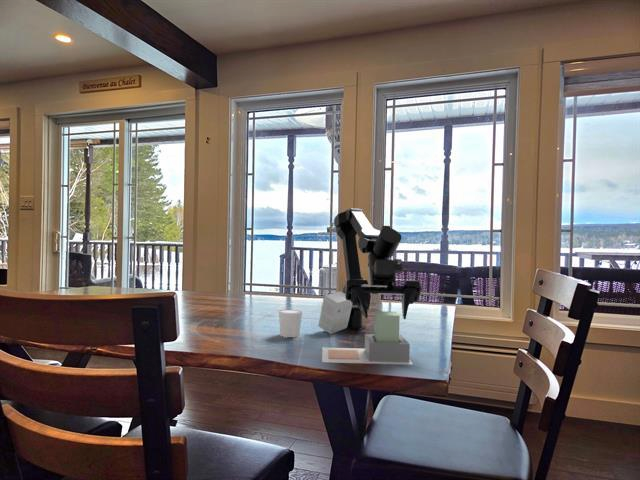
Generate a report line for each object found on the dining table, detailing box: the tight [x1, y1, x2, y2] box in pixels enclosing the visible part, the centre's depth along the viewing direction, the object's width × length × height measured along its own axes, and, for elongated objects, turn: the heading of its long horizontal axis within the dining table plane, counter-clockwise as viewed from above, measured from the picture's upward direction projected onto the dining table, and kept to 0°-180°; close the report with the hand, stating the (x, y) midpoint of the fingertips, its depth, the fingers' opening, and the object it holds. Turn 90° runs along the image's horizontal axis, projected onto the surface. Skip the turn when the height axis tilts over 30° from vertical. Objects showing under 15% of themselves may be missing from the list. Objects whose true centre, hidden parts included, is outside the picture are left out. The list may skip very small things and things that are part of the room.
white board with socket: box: [321, 333, 414, 366], centre depth 92 cm, size 12×20×5 cm, turn 89°
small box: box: [317, 290, 352, 335], centre depth 120 cm, size 8×6×10 cm
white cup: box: [278, 309, 303, 338], centre depth 115 cm, size 7×7×7 cm
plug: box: [373, 310, 400, 342], centre depth 92 cm, size 5×5×10 cm
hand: (385, 317), depth 94 cm, fingers open, 9 cm apart
